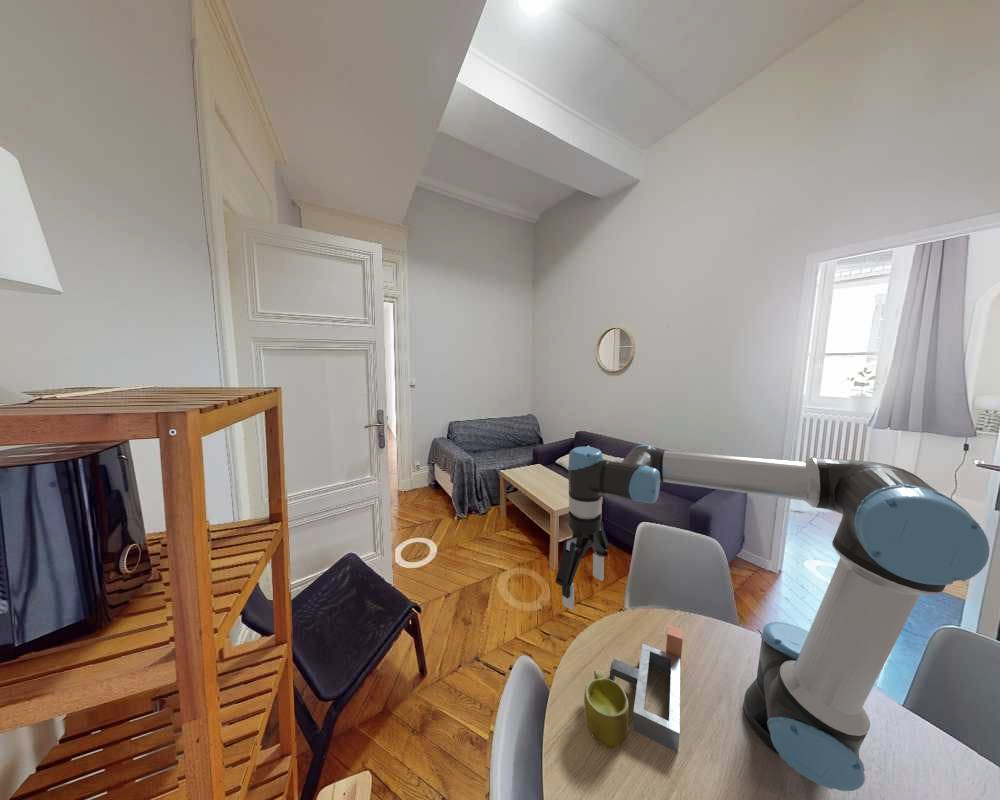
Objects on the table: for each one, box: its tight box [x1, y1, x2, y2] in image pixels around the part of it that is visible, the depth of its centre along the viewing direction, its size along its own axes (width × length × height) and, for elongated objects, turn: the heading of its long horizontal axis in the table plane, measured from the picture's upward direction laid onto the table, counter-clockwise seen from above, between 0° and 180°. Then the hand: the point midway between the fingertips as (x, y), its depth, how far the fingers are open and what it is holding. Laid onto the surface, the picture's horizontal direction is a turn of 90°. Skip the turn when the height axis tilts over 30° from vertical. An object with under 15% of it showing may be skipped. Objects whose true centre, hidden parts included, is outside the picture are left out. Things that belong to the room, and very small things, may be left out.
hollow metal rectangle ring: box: [609, 643, 681, 753], centre depth 81 cm, size 16×19×5 cm
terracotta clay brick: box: [665, 623, 684, 666], centre depth 88 cm, size 4×4×10 cm
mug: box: [583, 669, 630, 749], centre depth 75 cm, size 12×10×10 cm
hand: (584, 591), depth 82 cm, fingers open, 13 cm apart
